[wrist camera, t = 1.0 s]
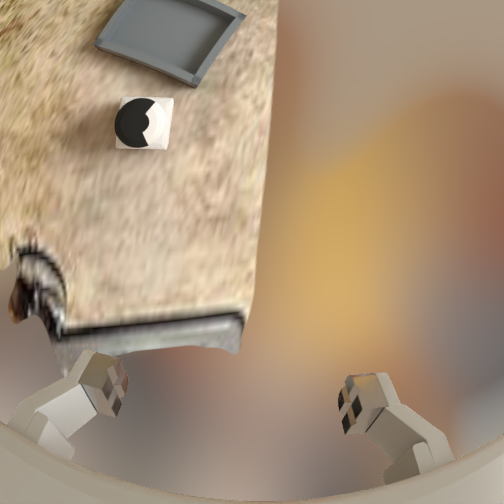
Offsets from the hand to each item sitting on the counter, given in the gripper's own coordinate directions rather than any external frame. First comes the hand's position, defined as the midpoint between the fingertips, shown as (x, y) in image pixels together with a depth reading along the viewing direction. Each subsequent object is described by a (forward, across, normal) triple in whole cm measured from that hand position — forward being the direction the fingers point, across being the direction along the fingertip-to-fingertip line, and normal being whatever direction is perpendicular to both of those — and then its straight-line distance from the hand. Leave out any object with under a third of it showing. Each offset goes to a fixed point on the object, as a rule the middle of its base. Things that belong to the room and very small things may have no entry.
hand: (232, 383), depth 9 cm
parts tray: (+35, +14, -25) cm, 45 cm away
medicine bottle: (+35, +16, -9) cm, 40 cm away
